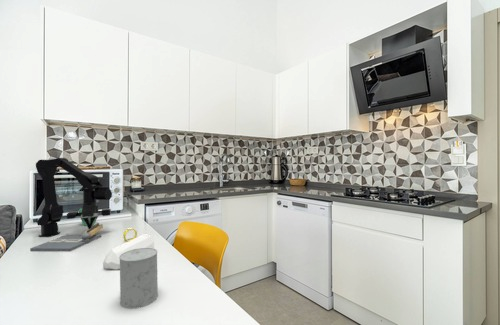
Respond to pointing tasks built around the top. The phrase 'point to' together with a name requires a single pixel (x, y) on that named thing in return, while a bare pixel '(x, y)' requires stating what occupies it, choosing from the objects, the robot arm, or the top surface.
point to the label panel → (65, 243)
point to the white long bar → (113, 255)
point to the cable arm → (92, 231)
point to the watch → (128, 230)
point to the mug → (84, 221)
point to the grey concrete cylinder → (138, 277)
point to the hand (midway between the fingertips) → (89, 230)
